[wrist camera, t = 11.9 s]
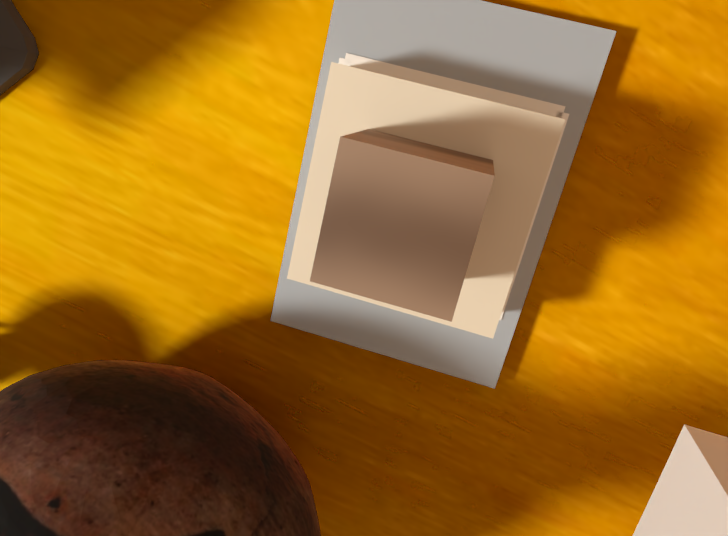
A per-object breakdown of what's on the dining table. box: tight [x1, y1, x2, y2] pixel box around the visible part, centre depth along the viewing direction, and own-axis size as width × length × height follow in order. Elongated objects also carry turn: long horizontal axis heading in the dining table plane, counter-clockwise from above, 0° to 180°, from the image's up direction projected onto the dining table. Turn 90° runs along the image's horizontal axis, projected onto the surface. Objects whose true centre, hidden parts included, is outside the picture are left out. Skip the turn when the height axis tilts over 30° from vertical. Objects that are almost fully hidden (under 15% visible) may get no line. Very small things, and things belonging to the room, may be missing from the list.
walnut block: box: [310, 129, 495, 322], centre depth 26 cm, size 6×6×6 cm
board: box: [270, 0, 616, 389], centre depth 32 cm, size 20×14×5 cm
